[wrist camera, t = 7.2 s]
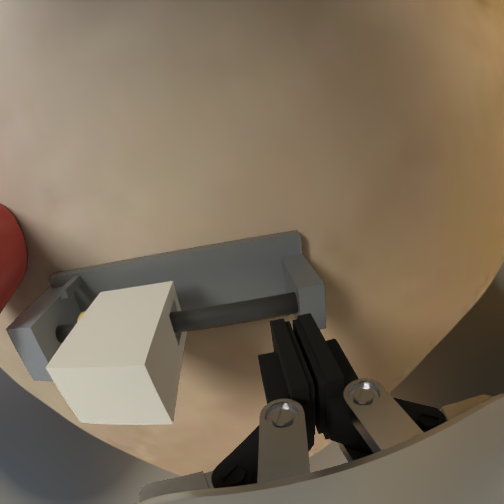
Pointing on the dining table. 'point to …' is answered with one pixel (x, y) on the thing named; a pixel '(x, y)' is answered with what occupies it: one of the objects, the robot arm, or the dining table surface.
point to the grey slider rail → (180, 291)
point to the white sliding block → (123, 358)
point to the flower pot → (10, 255)
